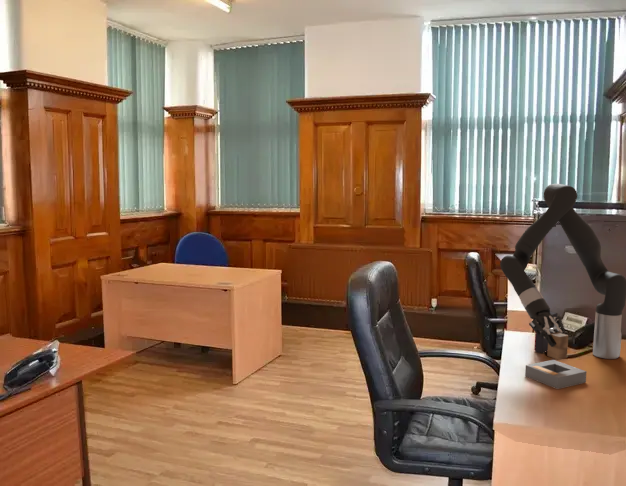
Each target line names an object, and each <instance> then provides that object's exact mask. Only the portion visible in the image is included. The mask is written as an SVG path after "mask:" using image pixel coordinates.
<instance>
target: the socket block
mask: <svg viewBox="0 0 626 486" xmlns="http://www.w3.org/2000/svg"><path fill="white" fill-rule="evenodd" d="M524 371H525V372H524V373H525V374H524V376H525V377H527V378H529V379H531V380H534V381H537V382H539V383H541V384H544V385H546V386H548V387H552V388H554V389H556V390H559V389H563V388H567V387H572V386H577V385H581V384H586V383H587V370H583V369H581V368H578V367H574V366H572V365H570V364H567V363H564V362H561V361H559V360H557V359H550V360H546V361H541V362H536V363H530V364H529V363H528V364H526V365H525V370H524Z"/></svg>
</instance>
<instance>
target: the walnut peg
mask: <svg viewBox="0 0 626 486" xmlns="http://www.w3.org/2000/svg"><path fill="white" fill-rule="evenodd" d="M550 335H552V337H553V339H554V340H555V342H556V345H555V346H554V347H551V346H550V345H549V343H548V351H546V353H547V354H546V356H547V357H548V358H552V359H553V360H556V361H559V360H562V359H567V358H568V356H567V355H568V348H569V347H568V346H569V335H568V334H565V333H563V332H562V333H559V332H556V333H550Z"/></svg>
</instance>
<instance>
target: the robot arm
mask: <svg viewBox="0 0 626 486" xmlns="http://www.w3.org/2000/svg"><path fill="white" fill-rule="evenodd" d="M543 200H544V203H545V204H546V206H547V207H548V208H547V209H546V210H545V212H544V213H543V215H541V217H539V218H538V219H537V220H536V221H534V222H533V223H532V224H530V226H529V227H527V229H526V230H524V232H523V233H522V235H521V236H520V237H519V239H518V240H517V242H516V244H515V245H514V253H513V254H509V255H505V256H503V257H502V258H501V260H500V264H499V265H500V269H501V271H502V273H503V274H504V275H505V277H506V278H507V280H508V281H509V283H510V284H511V285H512V287H513V290H514V292H515V293H516V295H517V296H518V298H519V300H520V303H521V304H522V307H523V308H524V309H525V311H526V313H527V314H528V316H529V318H530V319H531V320H532V321H531V320H530V321H529V323H528V324H529V326H530V328H531V329H532V330H533V331H534V332H536V333H537V334H538V336H539V337H544V338H546V340H547V342H548V343H549V345H550V346H551V347H554V346H555V345H556V342H555V340H554V339H553V337H552V335H550V331H551V332H553V333H556V332H559V333H562V334H563V332H565V327H564V324H563V321H562V317H561V316H560V315H557V317H553V315H551V314H550V312H551V308H550V306H549V304H548V303H547V301H546V299H545V298H544V297H543V295H542V293H541V292H540V291H539V289H538V287H536V284H535V283H534V282H533V280H532V279H531V277H529V276H528V274H527V273H526V271H525V270H526V268H527V266H528V265H529V262H530V260H531V257H532V256H533V254H534V253H535V251H536V250H537V249H538V247H539V245H540V244H541V242H543V240H544V239H545V237H546V236H547V235H548V233H550V231H551V230H552V229H553V228H554V227H555V225H557V223H559V224H560V226H561V229H562V230H563V232H564V233H565V236H566V237H567V239H568V241H569V242H570V243H569V244H571V246H572V248H573V249H574V251H575V253H576V254H577V256H578V258H579V259H580V260H579V261H581V263H582V265H583V266H584V268H585V270H586V273H587V274H588V276H589V279H590V282H591V285H592V286H593V288H594V289H595V291H596V292H598V293H599V294H601V295H604V301H602V303H598V304H597V305H596V307H595V319H594V331H593V332H594V333H593V345H592V355H594V357H597V358H601V359H606V360H607V359H608V360H615V359H618V358H619V357H620V356H621V348H622V347H621V346H622V345H621V344H622V337H623V336H622V335H623V334H622V332H621V330H622V317H623V315H622V314H623V310H624V308H625V306H626V277H625V276H624V275H622V274H620V273H616V272H612V271H609V270H608V268H607V267H606V266H605V264H604V262H603V260H602V256H601V252H602V251H601V249H602V247H601V243H600V240H599V238H598V236H597V234H596V232H595V230H594V229H593V228H592V227H591V226H590V224H589V223H587V221H586V220H585V219H583V217H582V216H580V215H579V213H578V212H576V210H575V208H574V207H573V206H574V205H575V204H576V202H577V200H578V192H577V190H576V188H574V187H573V186H571V185H569V184H568V185H567V184H563V183H552V184H549V185H547V186H546V187H545V189H544V191H543ZM552 326H554V327H553V328H552ZM538 329H539V330H540V332H541V333H540V332H539V331H538ZM549 330H550V331H549Z"/></svg>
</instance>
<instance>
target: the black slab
mask: <svg viewBox="0 0 626 486" xmlns="http://www.w3.org/2000/svg"><path fill="white" fill-rule="evenodd" d="M550 314H551V315H553V317H558V312H555V311H550ZM553 327H554V326H552V328H553ZM538 331H539V332H540V330H539V329H538ZM549 331H550V330H549ZM534 332H535V331H534ZM540 333H541V332H540ZM550 333H553V332H551V331H550ZM533 350H534V352H535V353H538V354H544V353H546V352H548V351H547V350H548V342H547V340H546V338H544V337H539V336H538V334H537V333H536V332H535V333H534V349H533ZM545 351H546V352H545Z"/></svg>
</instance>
